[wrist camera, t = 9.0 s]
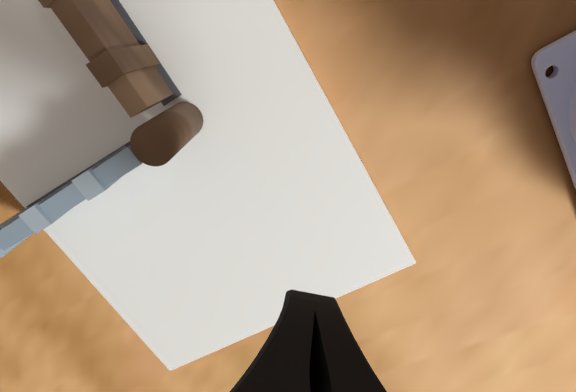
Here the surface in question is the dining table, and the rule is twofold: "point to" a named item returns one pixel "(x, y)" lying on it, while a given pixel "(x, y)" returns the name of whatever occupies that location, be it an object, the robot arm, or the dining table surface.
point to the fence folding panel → (66, 198)
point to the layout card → (195, 172)
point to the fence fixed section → (129, 77)
